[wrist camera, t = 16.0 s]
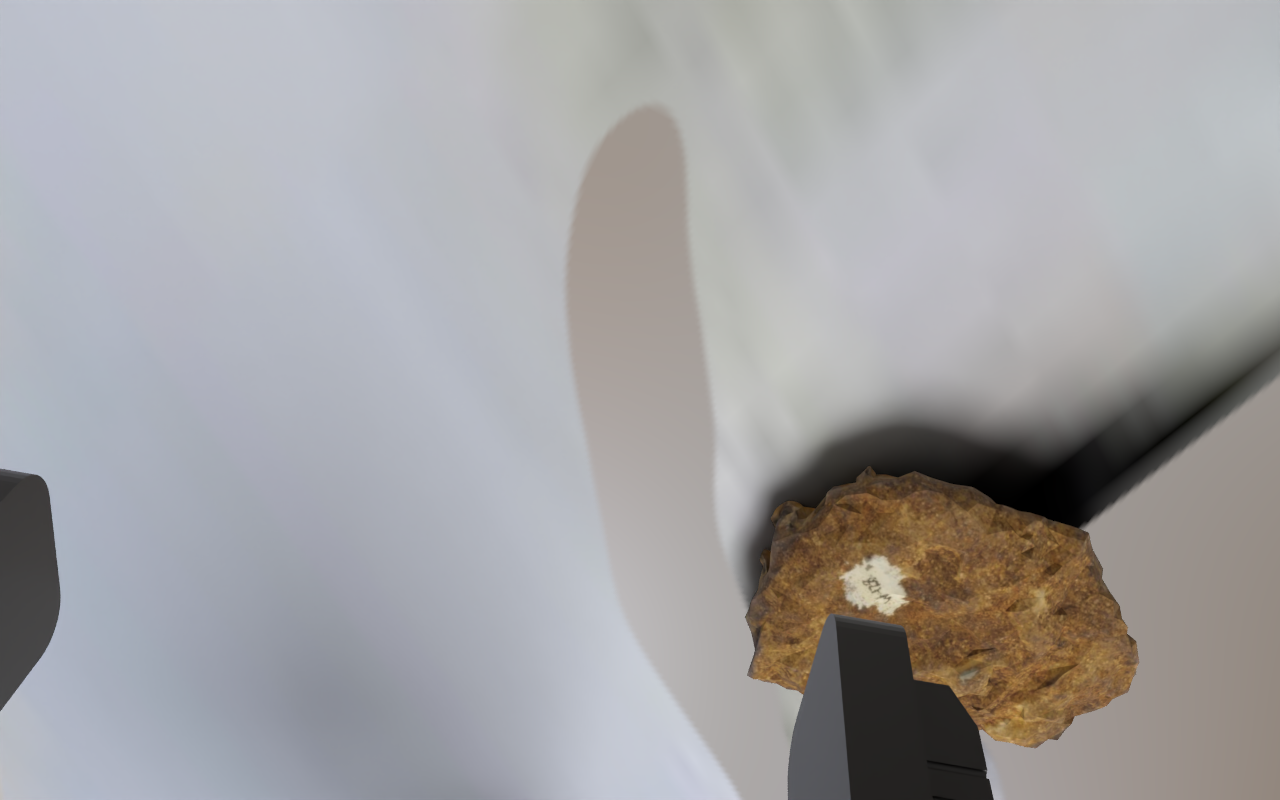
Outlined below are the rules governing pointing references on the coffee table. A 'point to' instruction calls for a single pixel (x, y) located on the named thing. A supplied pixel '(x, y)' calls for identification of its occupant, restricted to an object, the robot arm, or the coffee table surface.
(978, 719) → the decorative rock
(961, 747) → the robot arm
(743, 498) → the coffee table surface
